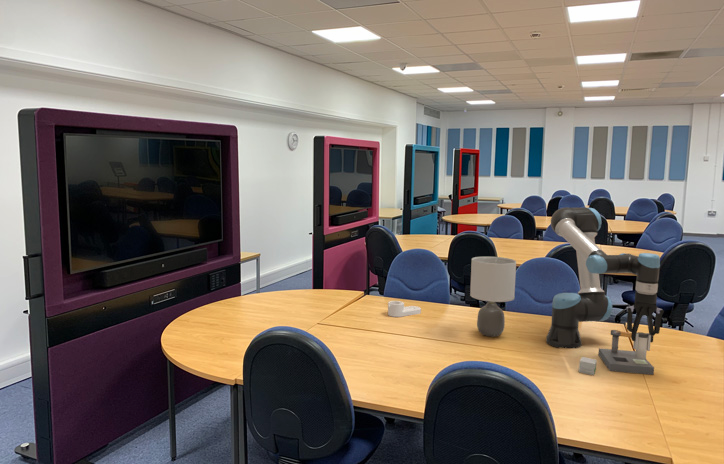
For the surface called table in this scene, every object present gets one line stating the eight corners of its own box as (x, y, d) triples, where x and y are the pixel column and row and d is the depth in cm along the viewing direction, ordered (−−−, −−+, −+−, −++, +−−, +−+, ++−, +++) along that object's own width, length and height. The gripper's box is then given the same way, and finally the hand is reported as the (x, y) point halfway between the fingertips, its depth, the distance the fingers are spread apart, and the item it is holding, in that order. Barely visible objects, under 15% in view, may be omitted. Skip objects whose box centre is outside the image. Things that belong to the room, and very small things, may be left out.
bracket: (393, 317, 268) (393, 305, 267) (384, 313, 275) (385, 301, 274) (423, 313, 277) (424, 301, 276) (414, 309, 285) (415, 297, 284)
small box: (593, 375, 194) (594, 363, 193) (578, 372, 197) (579, 360, 196) (596, 371, 198) (597, 359, 198) (580, 367, 202) (581, 356, 201)
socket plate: (609, 370, 199) (611, 346, 197) (598, 354, 216) (600, 332, 215) (653, 374, 195) (655, 349, 194) (638, 358, 213) (640, 335, 212)
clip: (648, 340, 204) (648, 337, 204) (610, 335, 210) (610, 332, 210) (647, 338, 207) (648, 334, 207) (610, 332, 213) (610, 329, 213)
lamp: (465, 337, 236) (468, 261, 232) (472, 325, 255) (475, 255, 251) (510, 343, 229) (514, 265, 224) (514, 330, 248) (518, 258, 243)
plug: (638, 355, 203) (640, 331, 202) (648, 358, 200) (650, 334, 199) (633, 357, 201) (635, 333, 200) (642, 360, 198) (645, 336, 197)
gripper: (626, 293, 195) (621, 350, 198) (673, 296, 192) (668, 354, 195) (620, 288, 203) (615, 344, 205) (666, 291, 199) (660, 347, 202)
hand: (641, 349), depth 200 cm, fingers closed on plug, 4 cm apart
